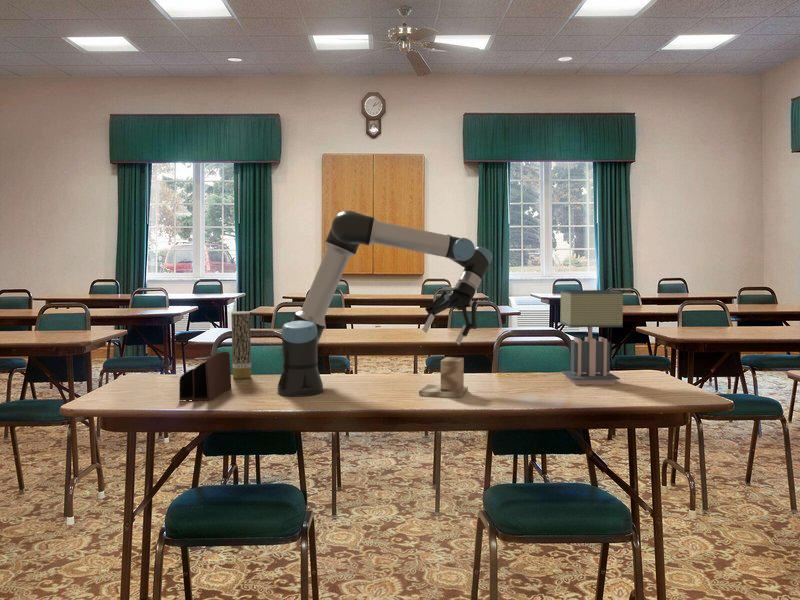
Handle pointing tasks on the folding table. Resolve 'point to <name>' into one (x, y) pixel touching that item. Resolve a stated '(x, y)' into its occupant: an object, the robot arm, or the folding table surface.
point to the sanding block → (452, 374)
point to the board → (441, 392)
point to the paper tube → (241, 344)
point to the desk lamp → (591, 312)
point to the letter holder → (207, 379)
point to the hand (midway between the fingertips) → (440, 337)
